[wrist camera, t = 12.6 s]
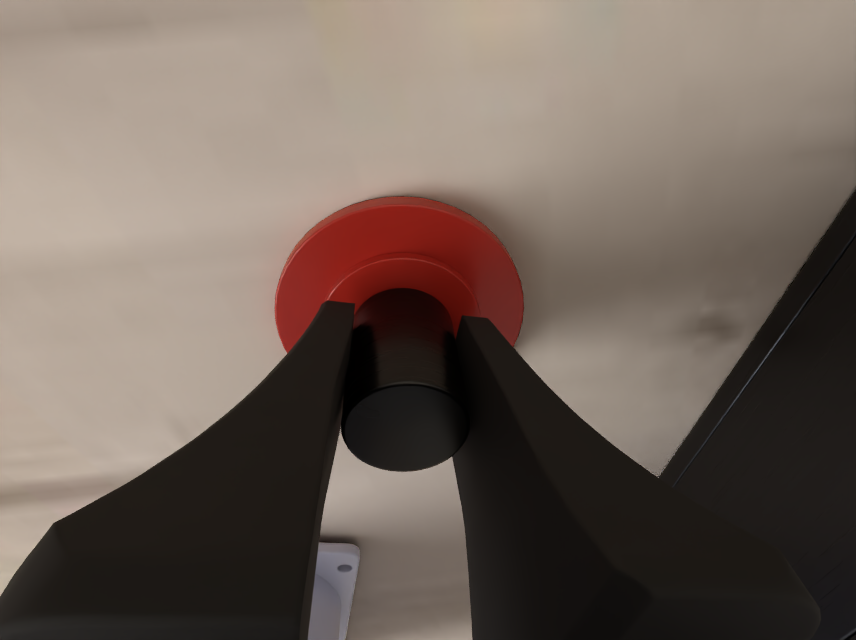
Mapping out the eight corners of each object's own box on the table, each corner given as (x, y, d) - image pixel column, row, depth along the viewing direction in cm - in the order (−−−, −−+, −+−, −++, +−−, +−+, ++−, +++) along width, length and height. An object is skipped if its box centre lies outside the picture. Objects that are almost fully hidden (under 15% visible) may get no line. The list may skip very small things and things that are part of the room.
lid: (487, 405, 14) (516, 531, 11) (277, 389, 14) (242, 520, 10) (551, 216, 11) (620, 315, 8) (279, 175, 10) (228, 270, 7)
